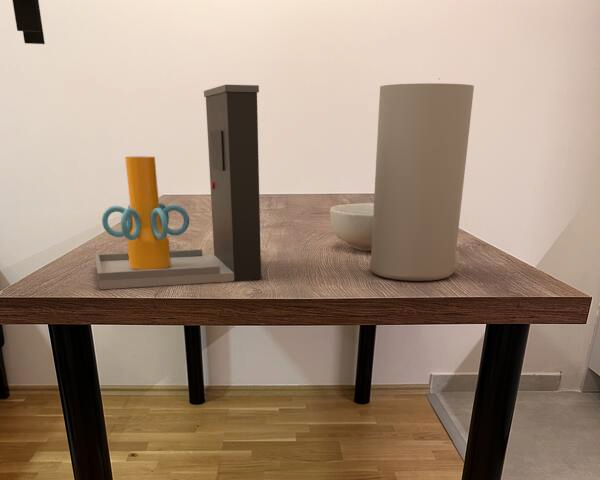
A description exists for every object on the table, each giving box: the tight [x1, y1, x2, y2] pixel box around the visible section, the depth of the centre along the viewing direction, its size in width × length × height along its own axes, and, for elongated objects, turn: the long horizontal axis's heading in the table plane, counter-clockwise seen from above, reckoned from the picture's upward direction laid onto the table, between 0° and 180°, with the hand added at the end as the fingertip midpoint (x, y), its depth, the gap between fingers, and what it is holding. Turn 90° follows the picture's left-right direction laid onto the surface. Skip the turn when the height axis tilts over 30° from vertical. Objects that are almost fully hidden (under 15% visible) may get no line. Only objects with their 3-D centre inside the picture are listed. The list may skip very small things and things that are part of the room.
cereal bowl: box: [329, 202, 374, 252], centre depth 116 cm, size 17×17×7 cm
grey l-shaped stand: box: [94, 84, 262, 290], centre depth 91 cm, size 23×16×25 cm
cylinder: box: [101, 155, 190, 270], centre depth 91 cm, size 12×10×15 cm
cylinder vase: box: [370, 82, 475, 282], centre depth 91 cm, size 12×12×25 cm
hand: (32, 38), depth 86 cm, fingers open, 13 cm apart
